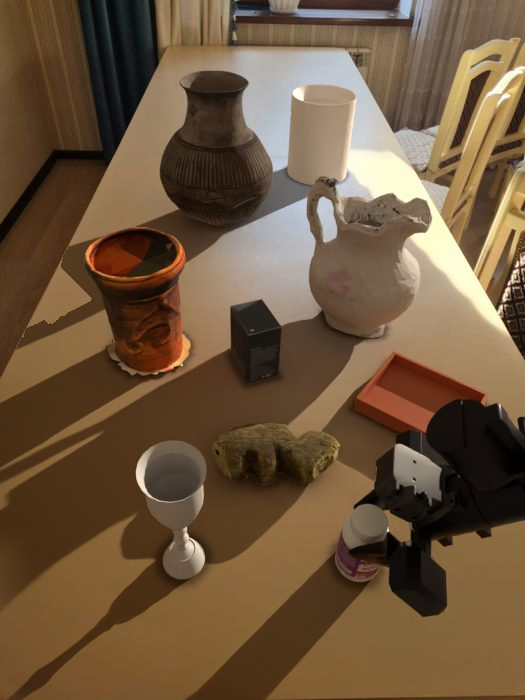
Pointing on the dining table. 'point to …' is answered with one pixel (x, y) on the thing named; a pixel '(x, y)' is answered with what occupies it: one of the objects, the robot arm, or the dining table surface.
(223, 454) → the sculpture
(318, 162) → the canister
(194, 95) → the vase
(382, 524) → the pill bottle
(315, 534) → the dining table surface
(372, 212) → the ceramic pitcher
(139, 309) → the vessel
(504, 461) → the robot arm
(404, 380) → the tray
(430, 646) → the dining table surface
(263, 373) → the box
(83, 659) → the dining table surface
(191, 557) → the chalice
